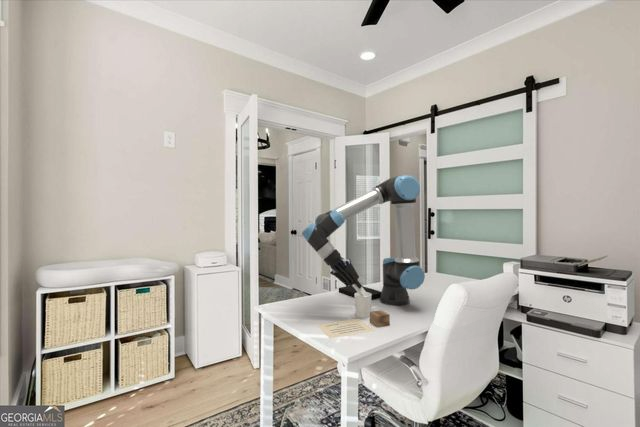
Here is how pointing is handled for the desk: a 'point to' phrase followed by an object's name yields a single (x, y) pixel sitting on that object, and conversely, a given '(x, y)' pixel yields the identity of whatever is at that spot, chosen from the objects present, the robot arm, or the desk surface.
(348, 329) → the letter
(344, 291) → the external hard drive
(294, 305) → the desk surface
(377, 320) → the block
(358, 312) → the white cup
